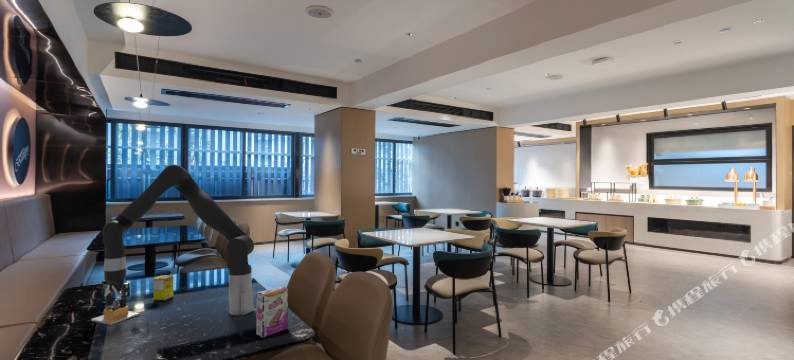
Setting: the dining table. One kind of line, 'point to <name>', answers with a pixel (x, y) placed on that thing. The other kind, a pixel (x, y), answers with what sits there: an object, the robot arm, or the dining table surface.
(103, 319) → the keeper
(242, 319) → the dining table surface
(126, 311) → the link
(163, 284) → the supplement box
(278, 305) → the candy bar box
